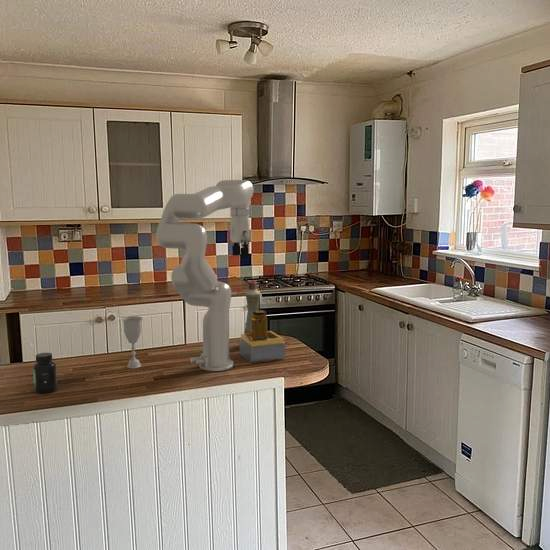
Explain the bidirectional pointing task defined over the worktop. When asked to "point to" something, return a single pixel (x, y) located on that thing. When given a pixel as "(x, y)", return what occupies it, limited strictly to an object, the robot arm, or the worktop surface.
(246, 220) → the robot arm
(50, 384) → the supplement bottle
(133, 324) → the chalice
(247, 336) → the gold-rimmed square tray
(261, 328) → the condiment
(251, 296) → the bottle
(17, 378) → the worktop surface
